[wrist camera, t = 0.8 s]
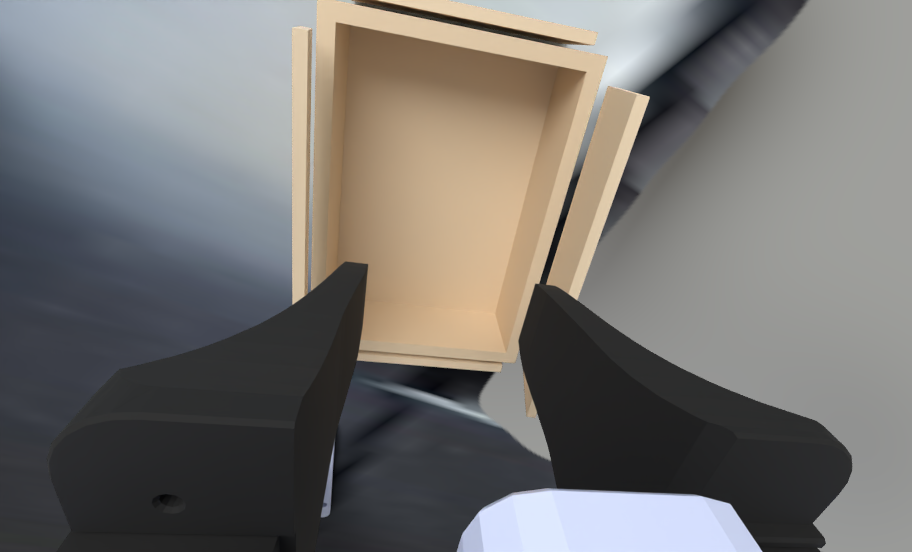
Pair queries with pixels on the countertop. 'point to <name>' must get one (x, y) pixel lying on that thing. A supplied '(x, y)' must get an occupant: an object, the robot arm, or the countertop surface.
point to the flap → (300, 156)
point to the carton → (444, 169)
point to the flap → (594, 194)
